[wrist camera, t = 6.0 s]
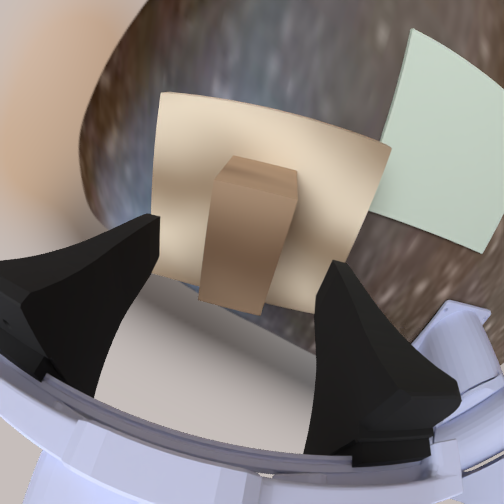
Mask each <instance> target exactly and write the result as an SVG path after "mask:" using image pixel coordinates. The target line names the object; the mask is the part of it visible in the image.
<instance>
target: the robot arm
mask: <svg viewBox="0 0 504 504" xmlns="http://www.w3.org/2000/svg"><path fill="white" fill-rule="evenodd" d="M159 256H160V216H156V215H152V214H148V213H147V214H144V215H142V216H139V217H137V218H135V219H133V220H130V221H128V222H126V223H124V224H122V225H120V226H117V227H115V228H113V229H111V230H109V231H107V232H104V233H102V234H100V235H98V236H95V237H93V238H91V239H88V240H86V241H83V242H81V243H78V244H75V245H72V246H69V247H66V248H63V249H59V250H56V251H52V252H49V253H45V254H41V255H36V256H32V257H26V258H20V259H12V260H3V261H0V417H2V418H3V419H4V420H5V421H6V422H7V423H9V424H10V425H11V426H12V427H13V428H15V429H16V430H17V431H18V432H20V433H21V434H22V435H23V436H25V437H26V438H28V439H29V440H30V441H32V442H33V443H34V444H36V445H37V446H38V447H40V448H41V449H43V450H42V452H41V455H40V457H39V460H38V462H37V464H36V467H35V469H34V472H33V475H32V478H31V480H30V483H29V486H28V489H27V491H26V494H25V498H24V500H23V504H435V503H438V502H441V501H444V500H446V499H449V498H450V499H453V500H456V501H460V502H462V503H464V504H504V455H502V456H500V457H498V458H496V459H495V460H493V461H491V462H489V463H487V464H485V465H483V466H481V467H479V468H477V469H475V470H472V471H468V472H464V470H467V469H469V468H471V467H473V466H475V465H477V464H479V463H481V462H483V461H485V460H487V459H489V458H491V457H493V456H495V455H497V454H498V453H500V452H502V451H504V375H503V373H502V370H501V367H500V365H499V362H498V360H497V357H496V355H495V352H494V350H493V348H492V345H491V343H490V341H489V339H488V337H487V334H486V332H485V330H484V328H483V326H482V325H483V324H484V322H485V321H486V320H487V319H488V317H489V316H490V315H491V311H490V310H488V309H484V308H481V307H477V306H473V305H469V304H465V303H461V302H457V301H453V300H447V301H446V302H445V303H444V304H443V305H442V307H441V308H440V309H439V311H438V312H437V313H436V315H435V316H434V317H433V318H432V320H431V321H430V322H429V323H428V325H427V326H426V327H425V328H424V330H423V331H422V332H421V333H420V334H419V336H418V337H417V338H416V339H415V340H414V341H413V343H412V344H410V343H409V342H408V341H407V340H406V339H405V338H404V337H403V336H402V335H401V334H400V333H399V332H398V330H397V329H396V328H395V327H394V326H393V325H392V324H391V323H390V321H389V320H388V319H387V318H386V317H385V315H384V314H383V313H382V311H381V310H380V309H379V308H378V306H377V305H376V304H375V302H374V301H373V300H372V298H371V297H370V295H369V294H368V293H367V291H366V290H365V288H364V287H363V285H362V284H361V283H360V281H359V280H358V278H357V277H356V275H355V274H354V273H353V271H352V270H351V268H350V267H349V266H348V265H347V263H344V262H340V261H336V260H332V262H331V264H330V266H329V269H328V271H327V273H326V275H325V277H324V279H323V282H322V284H321V286H320V288H319V290H318V292H317V294H316V299H315V312H314V322H315V341H316V361H317V362H316V363H317V364H316V366H317V367H316V381H315V392H314V400H313V407H312V414H311V420H310V425H309V431H308V436H307V440H306V444H305V449H304V453H303V454H293V453H284V452H276V451H268V450H261V449H255V448H249V447H243V446H237V445H233V444H228V443H223V442H218V441H214V440H210V439H205V438H202V437H197V436H194V435H190V434H187V433H184V432H180V431H177V430H173V429H170V428H167V427H164V426H161V425H158V424H155V423H152V422H149V421H147V420H144V419H141V418H139V417H136V416H133V415H130V414H128V413H126V412H123V411H121V410H119V409H116V408H114V407H111V406H109V405H107V404H105V403H103V402H100V401H98V400H96V399H94V395H95V391H96V388H97V384H98V381H99V377H100V374H101V371H102V368H103V365H104V362H105V359H106V356H107V354H108V351H109V348H110V346H111V344H112V341H113V339H114V337H115V334H116V332H117V330H118V328H119V326H120V323H121V321H122V319H123V318H124V316H125V314H126V312H127V310H128V309H129V307H130V306H131V304H132V303H133V301H134V299H135V298H136V297H137V295H138V293H139V292H140V290H141V289H142V287H143V286H144V284H145V283H146V281H147V279H148V278H149V276H150V275H151V273H152V271H153V269H154V267H155V265H156V263H157V261H158V259H159ZM256 472H258V473H266V474H275V475H274V476H273V478H267V477H262V476H260V475H259V474H258V473H256Z"/></svg>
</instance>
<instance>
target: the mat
mask: <svg viewBox="0 0 504 504" xmlns="http://www.w3.org/2000/svg"><path fill="white" fill-rule="evenodd" d="M379 142H382V143H384V144H387V145H388V146H390V147H391V148H392V150H391V153H390V156H389V159H388V161H387V164H386V167H385V169H384V172H383V175H382V177H381V180H380V182H379V185H378V188H377V190H376V193H375V195H374V198H373V200H372V202H371V205H370V207H369V210H368V211H371V212H374V213H377V214H380V215H383V216H386V217H389V218H392V219H395V220H398V221H401V222H403V223H406V224H409V225H412V226H414V227H417V228H420V229H422V230H425V231H428V232H430V233H433V234H435V235H438V236H441V237H443V238H446V239H448V240H450V241H453V242H455V243H458V244H460V245H463V246H465V247H467V248H470V249H472V250H474V251H477V252H479V253H481V254H482V253H483V251H484V250H485V248H486V246H487V244H488V243H489V241H490V239H491V237H492V235H493V233H494V231H495V230H496V228H497V226H498V224H499V222H500V220H501V218H502V216H503V214H504V89H503V88H501V87H500V86H499V85H498V84H497V83H495V82H494V81H493V80H492V79H491V78H489V77H488V76H487V75H486V74H484V73H483V72H482V71H480V70H479V69H478V68H476V67H475V66H474V65H472V64H471V63H469V62H468V61H467V60H465V59H464V58H462V57H461V56H459V55H458V54H456V53H455V52H453V51H452V50H450V49H448V48H447V47H445V46H444V45H442V44H440V43H439V42H437V41H435V40H433V39H432V38H430V37H428V36H426V35H424V34H423V33H421V32H419V31H417V30H415V29H410V34H409V38H408V43H407V47H406V52H405V56H404V60H403V64H402V68H401V72H400V75H399V79H398V83H397V86H396V90H395V93H394V97H393V100H392V104H391V107H390V110H389V114H388V117H387V120H386V123H385V126H384V129H383V132H382V135H381V138H380V141H379Z"/></svg>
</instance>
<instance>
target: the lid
mask: <svg viewBox="0 0 504 504" xmlns="http://www.w3.org/2000/svg"><path fill="white" fill-rule="evenodd" d="M391 150H392V148H391V147H390V146H388V145H387V144H384V143H382V142H379V141H377V140H374V139H372V138H369V137H366V136H363V135H361V134H358V133H355V132H352V131H349V130H347V129H344V128H341V127H337V126H334V125H331V124H328V123H325V122H322V121H318V120H315V119H311V118H308V117H304V116H301V115H297V114H293V113H289V112H285V111H281V110H277V109H273V108H268V107H264V106H259V105H254V104H249V103H244V102H239V101H233V100H228V99H221V98H215V97H208V96H201V95H193V94H184V93H174V92H163V93H161V96H160V103H159V111H158V120H157V129H156V139H155V150H154V163H153V179H152V203H151V214H152V215H156V216H160V256H159V259H158V261H157V263H156V265H155V267H154V269H153V271H152V273H153V274H157V275H160V276H164V277H167V278H171V279H174V280H178V281H181V282H185V283H189V284H192V285H196V286H200V287H199V297H198V300H200V301H203V302H207V303H211V304H215V305H218V306H222V307H226V308H230V309H234V310H238V311H242V312H246V313H251V314H255V315H259V316H260V314H261V312H262V309H263V306H264V303H267V304H272V305H276V306H280V307H285V308H289V309H294V310H298V311H303V312H307V313H312V314H314V312H315V299H316V294H317V292H318V290H319V288H320V286H321V284H322V282H323V279H324V277H325V275H326V273H327V271H328V269H329V266H330V264H331V262H332V260H336V261H340V262H344V263H345V261H346V259H347V257H348V255H349V252H350V250H351V248H352V246H353V244H354V242H355V239H356V237H357V235H358V233H359V231H360V228H361V226H362V224H363V221H364V219H365V217H366V214H367V212H368V210H369V207H370V205H371V202H372V200H373V198H374V195H375V193H376V190H377V188H378V185H379V182H380V180H381V177H382V175H383V172H384V169H385V167H386V164H387V161H388V159H389V156H390V153H391Z"/></svg>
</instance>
